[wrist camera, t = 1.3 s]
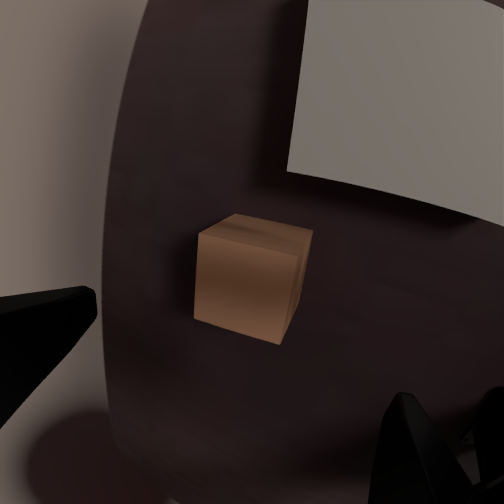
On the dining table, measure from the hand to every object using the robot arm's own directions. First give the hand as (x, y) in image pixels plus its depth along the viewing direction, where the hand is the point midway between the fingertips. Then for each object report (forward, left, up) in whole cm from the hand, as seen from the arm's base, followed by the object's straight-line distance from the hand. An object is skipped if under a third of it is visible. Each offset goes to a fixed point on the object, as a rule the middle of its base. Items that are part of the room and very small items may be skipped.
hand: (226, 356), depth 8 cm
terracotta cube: (-2, +2, -13) cm, 13 cm away
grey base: (+10, -5, -12) cm, 17 cm away
